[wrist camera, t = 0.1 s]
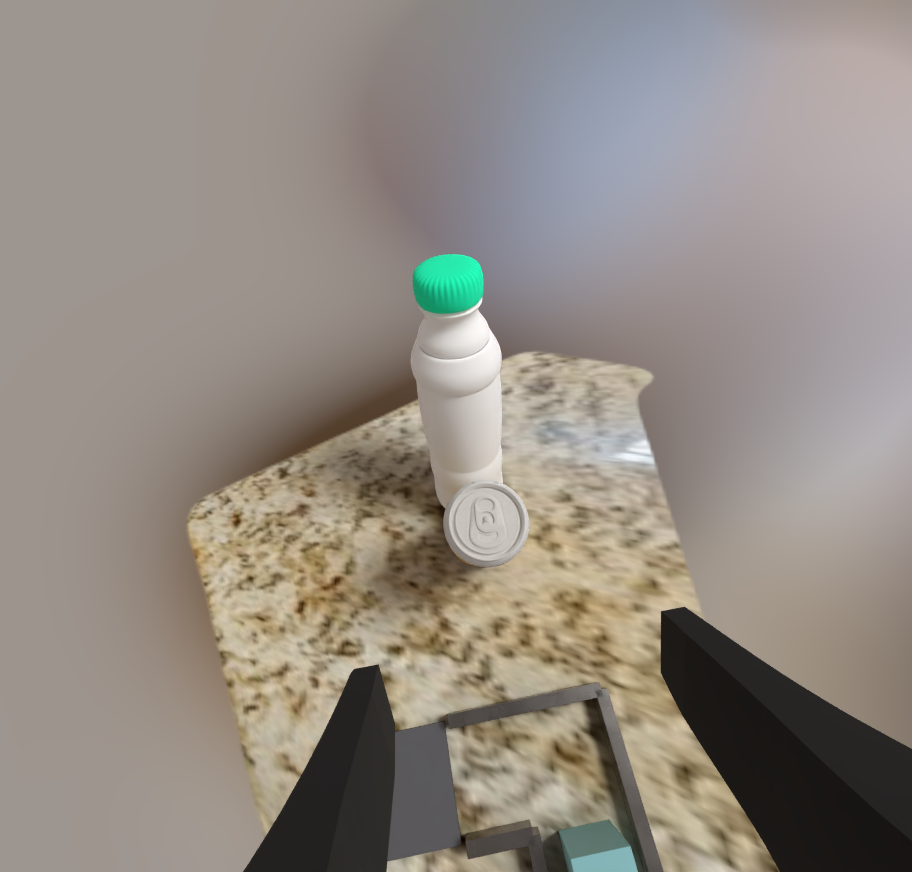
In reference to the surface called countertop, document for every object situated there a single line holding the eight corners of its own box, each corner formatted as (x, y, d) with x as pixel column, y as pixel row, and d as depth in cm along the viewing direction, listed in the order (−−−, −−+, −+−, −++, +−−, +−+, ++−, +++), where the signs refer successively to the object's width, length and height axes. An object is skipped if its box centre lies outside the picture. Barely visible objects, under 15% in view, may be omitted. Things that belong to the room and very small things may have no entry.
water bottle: (499, 523, 43) (494, 293, 25) (430, 516, 45) (379, 292, 27) (505, 468, 48) (505, 241, 30) (443, 463, 49) (407, 242, 31)
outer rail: (663, 890, 32) (673, 903, 30) (481, 931, 31) (481, 946, 29) (599, 681, 38) (605, 681, 36) (449, 713, 38) (447, 714, 36)
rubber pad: (461, 843, 33) (461, 845, 33) (359, 865, 33) (357, 867, 33) (444, 721, 37) (443, 721, 37) (352, 740, 37) (351, 741, 37)
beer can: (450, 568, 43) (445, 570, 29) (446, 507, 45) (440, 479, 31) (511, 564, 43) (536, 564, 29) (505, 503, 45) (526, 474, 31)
